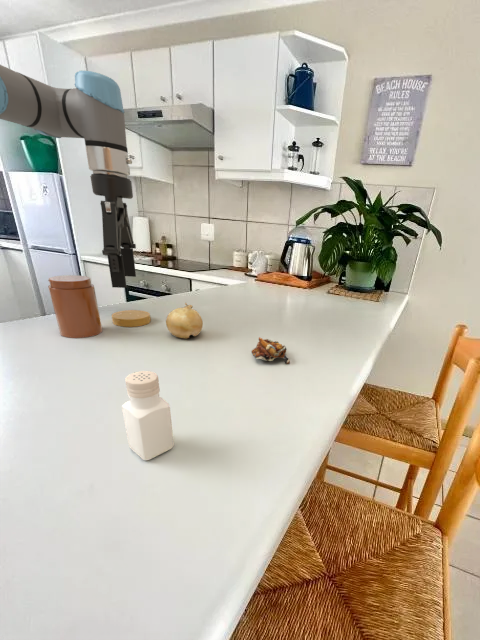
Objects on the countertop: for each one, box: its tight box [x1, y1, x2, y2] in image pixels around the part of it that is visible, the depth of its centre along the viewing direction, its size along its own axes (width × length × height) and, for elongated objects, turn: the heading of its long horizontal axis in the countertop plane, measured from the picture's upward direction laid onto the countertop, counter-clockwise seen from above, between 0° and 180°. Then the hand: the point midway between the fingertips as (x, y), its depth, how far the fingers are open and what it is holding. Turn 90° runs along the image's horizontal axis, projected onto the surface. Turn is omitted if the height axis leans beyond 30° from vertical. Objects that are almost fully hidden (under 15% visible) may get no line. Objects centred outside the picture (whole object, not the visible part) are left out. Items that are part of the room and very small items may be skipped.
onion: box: [165, 302, 204, 339], centre depth 73 cm, size 8×8×7 cm
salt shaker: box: [121, 370, 175, 461], centre depth 36 cm, size 4×4×10 cm
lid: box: [111, 309, 152, 328], centre depth 80 cm, size 9×9×2 cm
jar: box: [47, 274, 103, 339], centre depth 69 cm, size 8×8×12 cm
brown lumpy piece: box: [251, 336, 291, 365], centre depth 68 cm, size 7×12×4 cm, turn 15°
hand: (125, 281), depth 76 cm, fingers open, 13 cm apart
